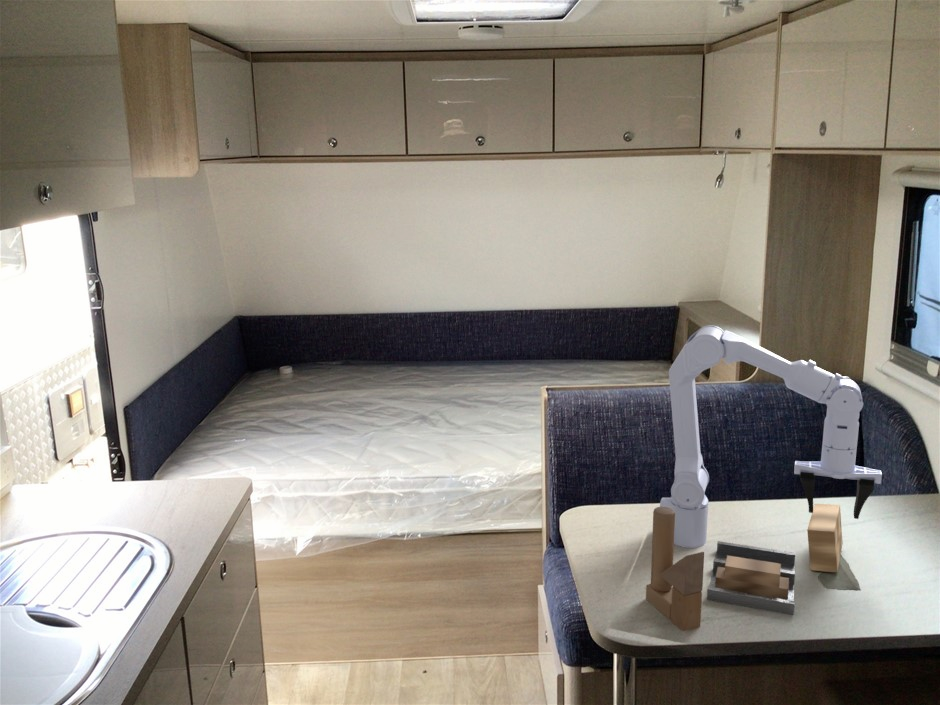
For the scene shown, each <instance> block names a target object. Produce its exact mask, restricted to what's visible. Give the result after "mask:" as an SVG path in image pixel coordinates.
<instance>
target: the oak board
mask: <svg viewBox="0 0 940 705" xmlns="http://www.w3.org/2000/svg"><path fill="white" fill-rule="evenodd" d="M841 517H842V516H841V505H840V504H830V503H829V504H828V503H826V504H825V503H813V513H811V516H810V519H809V522H808V526H807V529H806V530H807V539H808V540H807V542H808V554H809V556H808V557H809V567H810V568H809V569H810V571H817V572H822V571H826V572H838V566H839V561H840V555H842V548H843V545H844V544H843V541H844V540H843V532H842V530H843V529H842V518H841Z"/></svg>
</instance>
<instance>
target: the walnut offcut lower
mask: <svg viewBox="0 0 940 705" xmlns="http://www.w3.org/2000/svg"><path fill="white" fill-rule="evenodd" d="M715 588H721V589H726V590H732V591H738V592H744V593H750V594H756V595H761V596H767V597H773V598H779V599H785V600H788V591H789V578H785V577H780V584H779V588H777V587H771V586H765V585H759V584H753V583H747V582H742V581H736V580H730V579H725V568H723V567H718V568H717V573H716V580H715Z"/></svg>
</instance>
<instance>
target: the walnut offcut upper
mask: <svg viewBox="0 0 940 705" xmlns="http://www.w3.org/2000/svg"><path fill="white" fill-rule="evenodd" d="M780 569H781V564H779V563H773V562H766V561H760V560H753V559H747V558H741V557H734V556H728V555H727V559H726V565H725V579H730V580H736V581H742V582H747V583H753V584H759V585H765V586H771V587H777V588H779V584H780Z"/></svg>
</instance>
